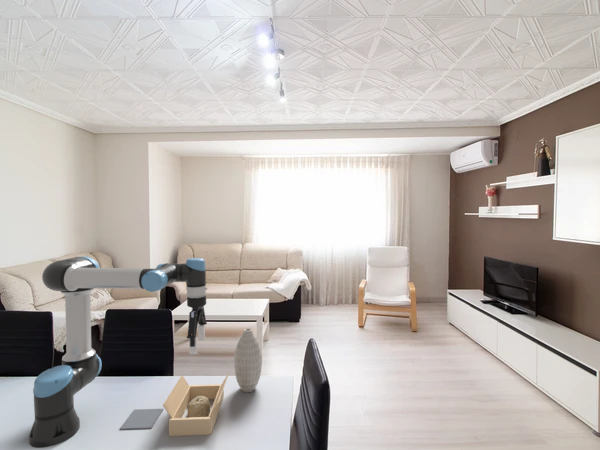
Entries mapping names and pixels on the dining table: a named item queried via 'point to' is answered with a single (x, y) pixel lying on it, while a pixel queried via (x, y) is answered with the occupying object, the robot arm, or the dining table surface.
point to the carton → (180, 401)
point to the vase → (247, 361)
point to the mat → (142, 419)
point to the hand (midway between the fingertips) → (197, 346)
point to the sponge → (199, 407)
